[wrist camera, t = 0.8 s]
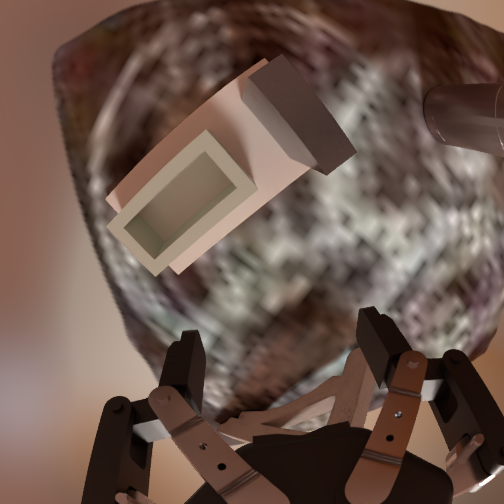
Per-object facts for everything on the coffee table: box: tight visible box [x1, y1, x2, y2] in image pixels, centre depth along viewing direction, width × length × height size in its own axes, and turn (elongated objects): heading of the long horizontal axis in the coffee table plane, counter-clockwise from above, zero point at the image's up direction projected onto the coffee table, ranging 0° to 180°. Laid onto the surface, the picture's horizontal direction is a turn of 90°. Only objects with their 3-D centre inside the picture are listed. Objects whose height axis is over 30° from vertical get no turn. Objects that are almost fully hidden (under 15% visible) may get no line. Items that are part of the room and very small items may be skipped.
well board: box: [106, 58, 310, 277], centre depth 31 cm, size 26×14×6 cm, turn 129°
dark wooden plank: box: [241, 54, 357, 175], centre depth 25 cm, size 9×3×14 cm, turn 39°
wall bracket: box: [217, 347, 375, 443], centre depth 49 cm, size 22×4×30 cm
